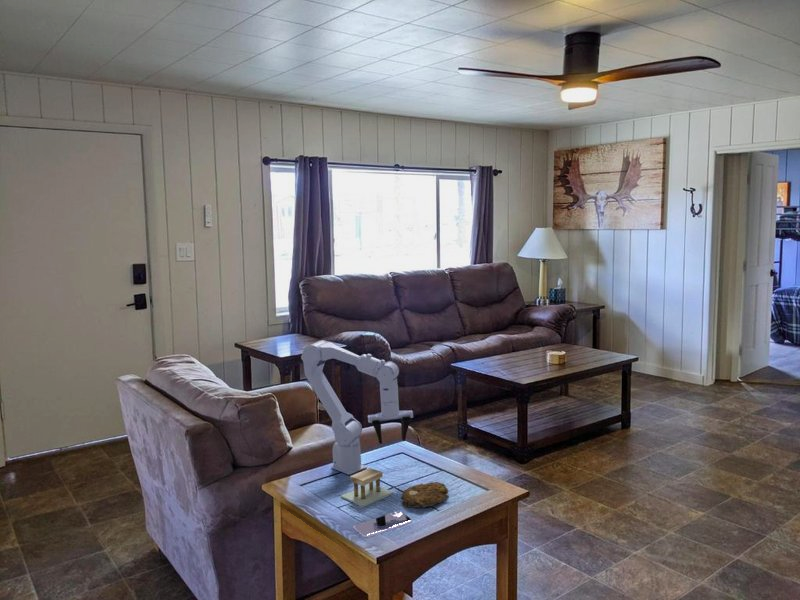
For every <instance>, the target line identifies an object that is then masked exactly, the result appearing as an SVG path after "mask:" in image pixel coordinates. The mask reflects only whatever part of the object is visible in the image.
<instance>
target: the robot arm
mask: <svg viewBox="0 0 800 600" xmlns="http://www.w3.org/2000/svg"><path fill="white" fill-rule="evenodd" d="M300 358H301V360H302V362H303V369H304V376H305V377H306V379H307V381H308V383H309V384H310V386H311V388H312V389H313V392H314V393H315V394H316V395H317V397H318V399H319V400H320V401H319V402H321V404H322V405H323V407H324V409H325V411H326V412H327V414H328V416H329V418H330V419H331V422H332V423H331V430H332V431H333V434H334V439H335V442H334V443H333V445H332V464H333V465H332V466H331V469H333V470H336V471H338V472H340V473H343V474H346V475H350V476H351V475H352V474H356V473H358V472H359V471H360V472H361V471H364V469H365V470H366V469H368V466H367V465H364V464H363V463H362V456H361V455H362V453H361V440H360V436H361V435H362V432H363V426H362V424H361V422H360V421H358V420H357V419H356V418H355V417H354V416H353V414H352V413H350V412H348V411H346V409H345V407H344V406H343V404H342V402H341V400H340V399H339V397H338V396H337V394H336V392H335V391H334V389H333V387H332V386H331V384H330V382H329V381H328V379H327V376H326V375H325V373H324V371H323V370H324V366H325V363H326V361H328V360H331V359H335V360H337V361H340V362H343V363H347V364H350V365H352V366H355V368H356V369H357V370H358V372H361V373H363V374H366V375H369V376H371V377H374V378H376V379H377V380H378V382H379V393H380V395H379V396H380V410H381V412H378V413H375V414H368V415H367V422H368V424H370V423H371V424H372V426H373V428H374V430H375V432H376V436H377V440H378V443H379V444H380V445H382V444H383V440H382V425H381V422H382V421H391V420H399V419H400V427H401V440H402V441H403V442H404V441H405V442H406V438H407V437H406V436H407V432H408V430H409V426H410V424H411V422H412V421H411V420H412V418H414V411H413V410H400V405H399V401H400V400H399V385H398V376H399V374H400V368H399V366H398V365H397V364H396V363H395V362H393V361H392V360H391V361H390V360H388V361H386V360H385V359H379V358H376V357H373V355H372V354H371V353H367V354H365V353H363V354H361V355H358V354H357V353H354V352H352V351H349V350H348V349H345V348H342V347H341V346H338V345H336V344H334V343H333V342H331V341H327V340H325V339H321V340H318V341H316V342H314V343H311V344H308V345H306V346H305V347H304V349H303V350H302V353H301V355H300Z"/></svg>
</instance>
